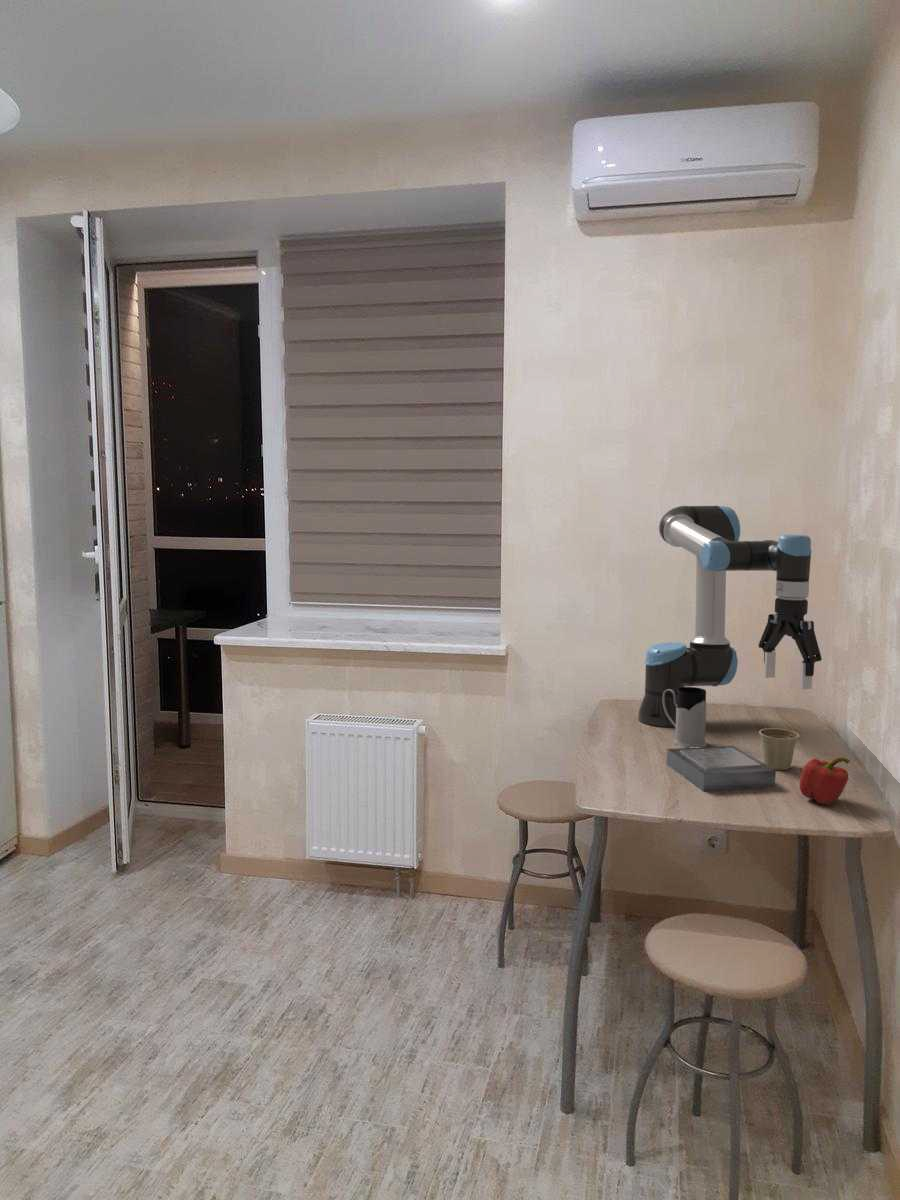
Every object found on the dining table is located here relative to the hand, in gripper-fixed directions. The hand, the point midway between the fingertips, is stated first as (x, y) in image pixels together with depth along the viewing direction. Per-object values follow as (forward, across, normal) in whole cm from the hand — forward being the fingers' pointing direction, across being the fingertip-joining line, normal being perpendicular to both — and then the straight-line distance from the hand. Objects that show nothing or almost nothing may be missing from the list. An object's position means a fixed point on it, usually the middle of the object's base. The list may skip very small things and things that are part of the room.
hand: (786, 683), depth 213 cm
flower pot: (+22, -1, -1) cm, 22 cm away
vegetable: (+22, +22, -7) cm, 32 cm away
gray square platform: (+22, +1, -19) cm, 29 cm away
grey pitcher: (+22, -28, -12) cm, 37 cm away
